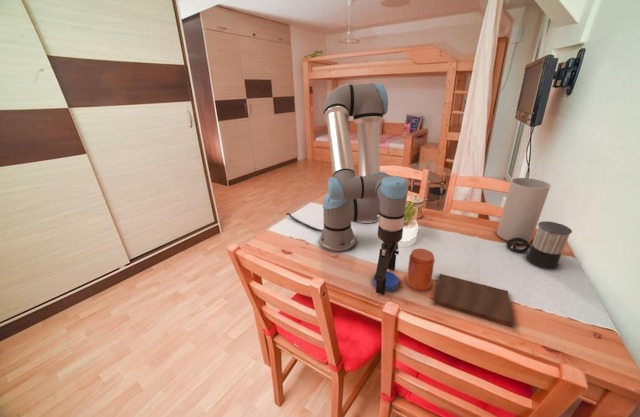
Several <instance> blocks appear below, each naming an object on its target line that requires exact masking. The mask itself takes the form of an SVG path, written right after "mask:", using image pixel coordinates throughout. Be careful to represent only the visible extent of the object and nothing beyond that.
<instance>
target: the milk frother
mask: <svg viewBox="0 0 640 417" xmlns="http://www.w3.org/2000/svg"><path fill="white" fill-rule="evenodd" d="M537 226H538V227H537V230H536V233H535V236H534V239H533V240H532V241H533V242H532V243H531V244H530V242H529V243H528V242H527V241H526V240H525V239H522V238H513V239H510V240H508V241H506V244H505V245H506V247H507V248H508V249H509V250H510V251H512V252H514V253H515V252H516V253H525V252H527V251H528V250H529V249H530V250H529V251H528V254H527V255H526V259H527V261H528V262H529V263H530V264H532V265H534V266H537V267H540V268H542V269H549V270H553V269H557V268H558V266H559V261H560V259H561V257H562V254H563V252H564V249H565V247H566V245H567V242H568V239H569V237H570V235H571V234H572V233H573V229H571V228H570V227H569V226H567V225H564V224H562V223H558V222H554V221H547V220H546V221H545V220H544V221H539V222H538V223H537ZM517 241H519V242H522V243H524V244H523V245H524V248H516V247H517Z"/></svg>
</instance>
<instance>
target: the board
mask: <svg viewBox="0 0 640 417" xmlns="http://www.w3.org/2000/svg"><path fill="white" fill-rule="evenodd" d="M434 304H435V305H438V306H442V307H444V308H448V309H452V310H455V311H458V312H461V313H465V314H468V315H471V316H474V317H478V318H481V319H484V320H488V321H491V322H494V323H497V324H501V325H504V326H507V327H513V325H514V320H513V313H512V307H511V302H510V294H509V291H508V290H505V289H502V288H498V287H494V286H490V285H486V284H482V283H479V282H474V281H471V280H466V279H462V278H458V277H455V276H451V275H447V274H443V273H439V274H438V281H437V285H436V290H435V297H434Z"/></svg>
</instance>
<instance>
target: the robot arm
mask: <svg viewBox="0 0 640 417" xmlns="http://www.w3.org/2000/svg"><path fill="white" fill-rule="evenodd" d="M388 107H389V96H388V92H387V89H386V87H385V85H383V84H382V83H373V82H370V83H355V84H354V83H352V84H351V83H350V84H349V83H345V84H341V85H339V86H337V87H336V88H335V89H333V90H332V91H331V92H330V93H329V95H328V96H327V98H326V100H325V102H324V106H323V120H324V121H325V123H326V125H327V126H326V127H327V132H328V133H327V134H328V135H327V136H328V144H329V153H330V161H331V164H330V165H331V173H332V177H329V178H328V179H327V193H326V194H325V195H324V196H323V202H322V209H323V228H322V229H319V228H317V227H313V226H311V225H309V224H307V223H305V222H303V221H301V220H299V219H297V218H296V217H294V216H292V214H291V213H289V212H286V213H285V215H286V216H289V217H290V218H291V219H292V220H294V221H295V222H297V223H299V224H301V225H303V226H305V227H307V228H310V229H312V230H315V231H317V232H321V234H320V238H319V243H320V246H321V247H322V248H323V249H325V250H327V251H330V252H345V251H348V250H350V249H352V248H353V247H354V246H355V244H356V238H355V237H356V236H355V234H354V231H353V229H352V222H357V221H370V220H373V221H375V220H376V221H377V220H379V221H378V226H377V237H378V239H379V240H381V241H382V242H381V245H380V247H381V248H379V255H378V259H377V264H376V270H375V274H376V276H375V274H374V276H373V278H374V277H375V280H377V284H376V286H375V293H376V294H379V295H382V296H385V294H386V291H385V285H386V278H385V276H386V272H387V271H388V270H389V271H392V272H395V271H396V262H397V255H399V253H400V251H399V242H401V241H402V239H403V233H404V226H405V217H406V216H405V207H406V199H407V197H408V194H409V190H408V187H409V185H408V184H409V183H408V180H407V179H406V178H404V177H401V176H397V175H390V174H388V173H386V171H385V172H384V171H381V157H380V156H381V155H380V154H381V149H380V147H381V146H380V144H381V143H380V123H381V122H382V121H383V120H384V116H385V115H387V113H388V110H389V108H388ZM349 117H353V119H352V120H353V123H354V124H356V126H357V156H358V160H357V162H358V163H357V164H358V175H356V170H355V163H354V157H353V156H354V155H353V150H352V143H351V137H350V129H349V122H348V119H349Z"/></svg>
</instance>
